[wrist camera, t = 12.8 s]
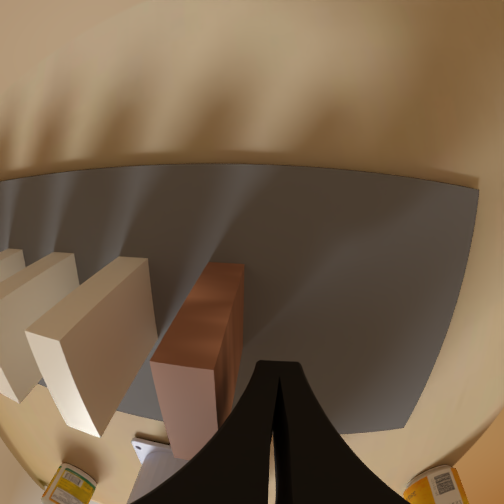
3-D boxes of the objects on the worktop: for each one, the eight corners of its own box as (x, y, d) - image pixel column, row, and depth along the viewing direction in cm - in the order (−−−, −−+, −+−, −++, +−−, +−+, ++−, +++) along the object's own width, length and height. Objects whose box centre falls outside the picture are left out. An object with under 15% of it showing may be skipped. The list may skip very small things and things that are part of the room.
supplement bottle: (80, 465, 23) (50, 522, 14) (105, 488, 25) (81, 542, 16) (54, 458, 24) (25, 508, 15) (78, 481, 26) (54, 529, 17)
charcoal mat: (401, 422, 17) (403, 427, 16) (2, 363, 19) (-1, 365, 18) (473, 188, 12) (479, 189, 11) (-43, 190, 14) (-47, 191, 13)
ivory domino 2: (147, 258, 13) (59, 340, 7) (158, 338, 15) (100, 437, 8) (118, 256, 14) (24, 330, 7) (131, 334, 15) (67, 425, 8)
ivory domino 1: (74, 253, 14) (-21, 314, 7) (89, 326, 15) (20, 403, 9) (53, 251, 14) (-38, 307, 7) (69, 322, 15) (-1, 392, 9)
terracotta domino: (244, 263, 13) (213, 369, 7) (242, 347, 15) (221, 465, 8) (208, 261, 13) (149, 361, 7) (211, 344, 15) (174, 457, 8)
